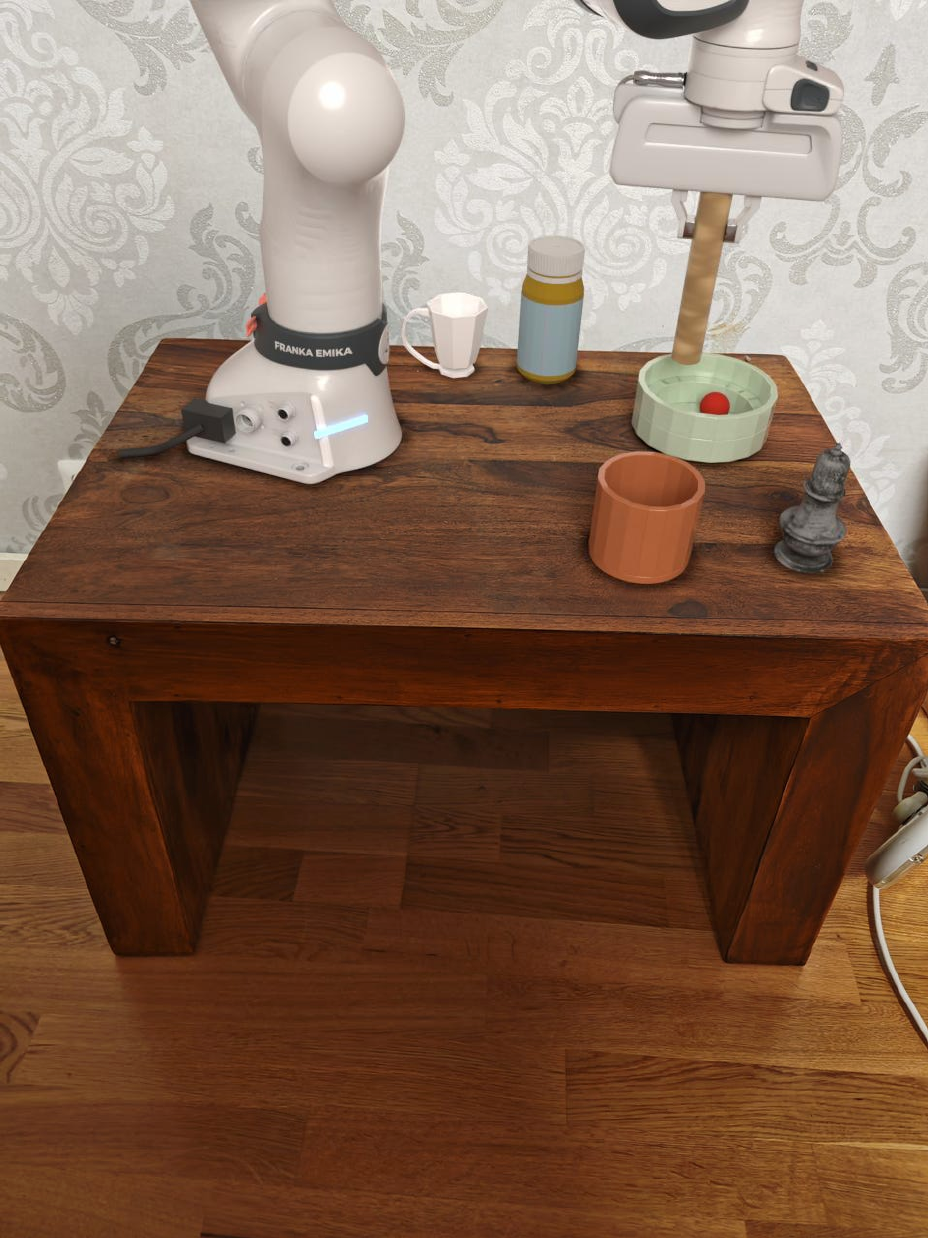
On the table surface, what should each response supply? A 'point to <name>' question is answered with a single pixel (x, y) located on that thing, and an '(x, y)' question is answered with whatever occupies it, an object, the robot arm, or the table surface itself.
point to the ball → (715, 404)
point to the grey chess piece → (815, 516)
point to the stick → (701, 276)
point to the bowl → (674, 412)
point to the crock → (645, 516)
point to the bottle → (551, 309)
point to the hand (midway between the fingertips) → (708, 238)
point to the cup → (453, 332)
